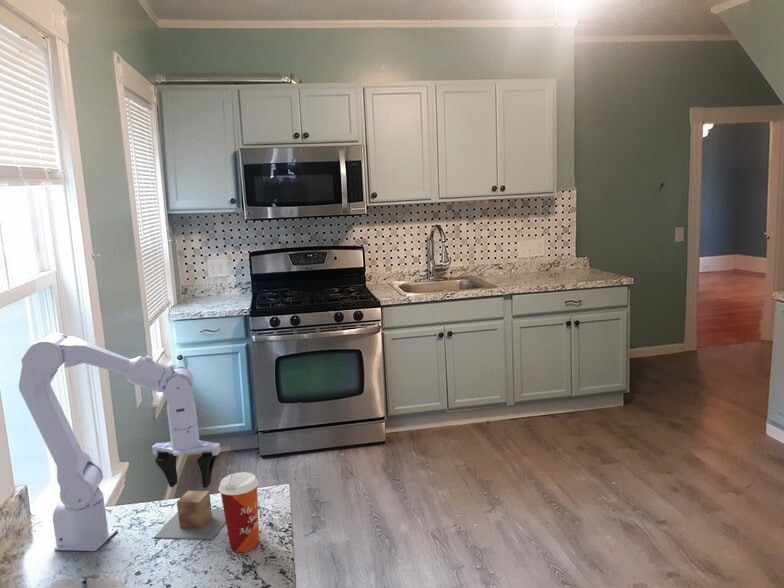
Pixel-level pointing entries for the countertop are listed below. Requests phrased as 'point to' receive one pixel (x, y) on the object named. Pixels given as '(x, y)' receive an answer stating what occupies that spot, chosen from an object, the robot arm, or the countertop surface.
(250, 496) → the paper cup
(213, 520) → the slate mat
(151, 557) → the countertop surface
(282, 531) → the countertop surface
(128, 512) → the countertop surface
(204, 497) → the walnut block
